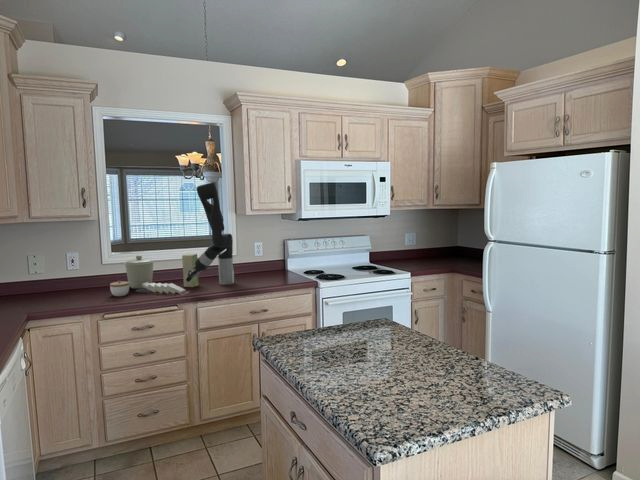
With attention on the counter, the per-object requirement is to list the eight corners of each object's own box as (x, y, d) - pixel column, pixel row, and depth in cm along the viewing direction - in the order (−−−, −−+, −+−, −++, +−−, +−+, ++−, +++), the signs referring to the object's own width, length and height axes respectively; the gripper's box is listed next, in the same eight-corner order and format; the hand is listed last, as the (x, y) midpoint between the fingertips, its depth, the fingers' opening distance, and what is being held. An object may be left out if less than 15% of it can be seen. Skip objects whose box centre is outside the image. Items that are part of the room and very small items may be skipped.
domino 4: (173, 289, 274) (159, 282, 276) (168, 291, 269) (154, 284, 271) (172, 291, 274) (159, 285, 276) (167, 293, 269) (154, 286, 271)
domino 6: (185, 289, 272) (171, 283, 274) (181, 291, 267) (166, 284, 269) (184, 292, 272) (171, 285, 274) (180, 294, 267) (166, 287, 269)
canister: (122, 291, 281) (120, 257, 278) (128, 285, 298) (126, 253, 296) (153, 289, 284) (151, 256, 282) (157, 283, 302) (155, 252, 299)
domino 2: (160, 288, 276) (147, 282, 278) (155, 290, 271) (142, 283, 273) (160, 291, 276) (146, 284, 279) (155, 292, 272) (141, 286, 274)
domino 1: (154, 288, 277) (140, 288, 280) (149, 290, 273) (135, 290, 275) (154, 290, 278) (141, 291, 280) (149, 292, 273) (135, 292, 275)
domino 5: (179, 289, 273) (165, 282, 275) (174, 291, 268) (160, 284, 270) (178, 291, 273) (165, 285, 275) (174, 293, 268) (160, 287, 270)
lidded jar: (111, 298, 261) (109, 283, 260) (110, 295, 271) (109, 279, 270) (131, 296, 266) (129, 281, 265) (129, 293, 276) (128, 277, 274)
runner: (190, 292, 273) (190, 291, 273) (182, 296, 265) (182, 295, 265) (156, 291, 280) (156, 290, 279) (147, 294, 271) (147, 293, 271)
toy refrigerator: (194, 288, 286) (192, 255, 284) (183, 287, 288) (181, 255, 286) (199, 285, 294) (198, 253, 292) (189, 285, 296) (187, 253, 293)
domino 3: (167, 289, 275) (153, 282, 277) (162, 290, 270) (148, 284, 272) (166, 291, 275) (152, 284, 277) (161, 293, 271) (147, 286, 273)
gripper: (206, 254, 270) (189, 274, 275) (194, 258, 257) (176, 278, 262) (214, 263, 269) (197, 282, 274) (203, 267, 256) (185, 287, 261)
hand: (187, 280), depth 268 cm, fingers closed
